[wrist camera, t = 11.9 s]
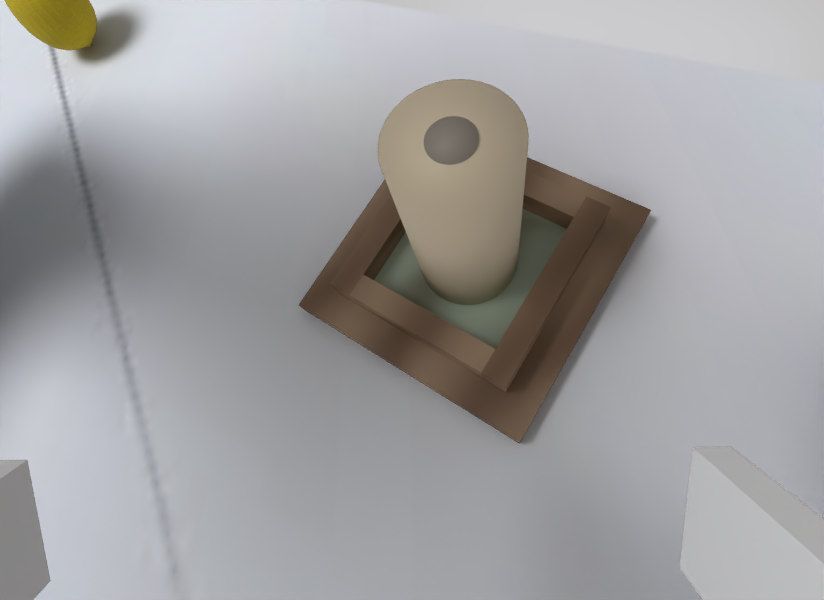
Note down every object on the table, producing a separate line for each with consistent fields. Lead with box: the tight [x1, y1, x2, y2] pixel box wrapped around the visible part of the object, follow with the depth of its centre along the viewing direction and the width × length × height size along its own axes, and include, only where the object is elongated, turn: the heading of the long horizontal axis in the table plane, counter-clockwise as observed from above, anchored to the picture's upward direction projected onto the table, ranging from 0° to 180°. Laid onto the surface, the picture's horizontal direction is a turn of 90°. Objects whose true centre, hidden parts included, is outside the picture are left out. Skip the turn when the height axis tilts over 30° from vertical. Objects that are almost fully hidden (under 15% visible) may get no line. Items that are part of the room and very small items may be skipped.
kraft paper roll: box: [378, 79, 529, 305], centre depth 26 cm, size 6×6×12 cm
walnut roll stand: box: [299, 158, 651, 443], centre depth 31 cm, size 16×16×3 cm
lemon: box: [5, 0, 97, 50], centre depth 42 cm, size 6×6×8 cm
